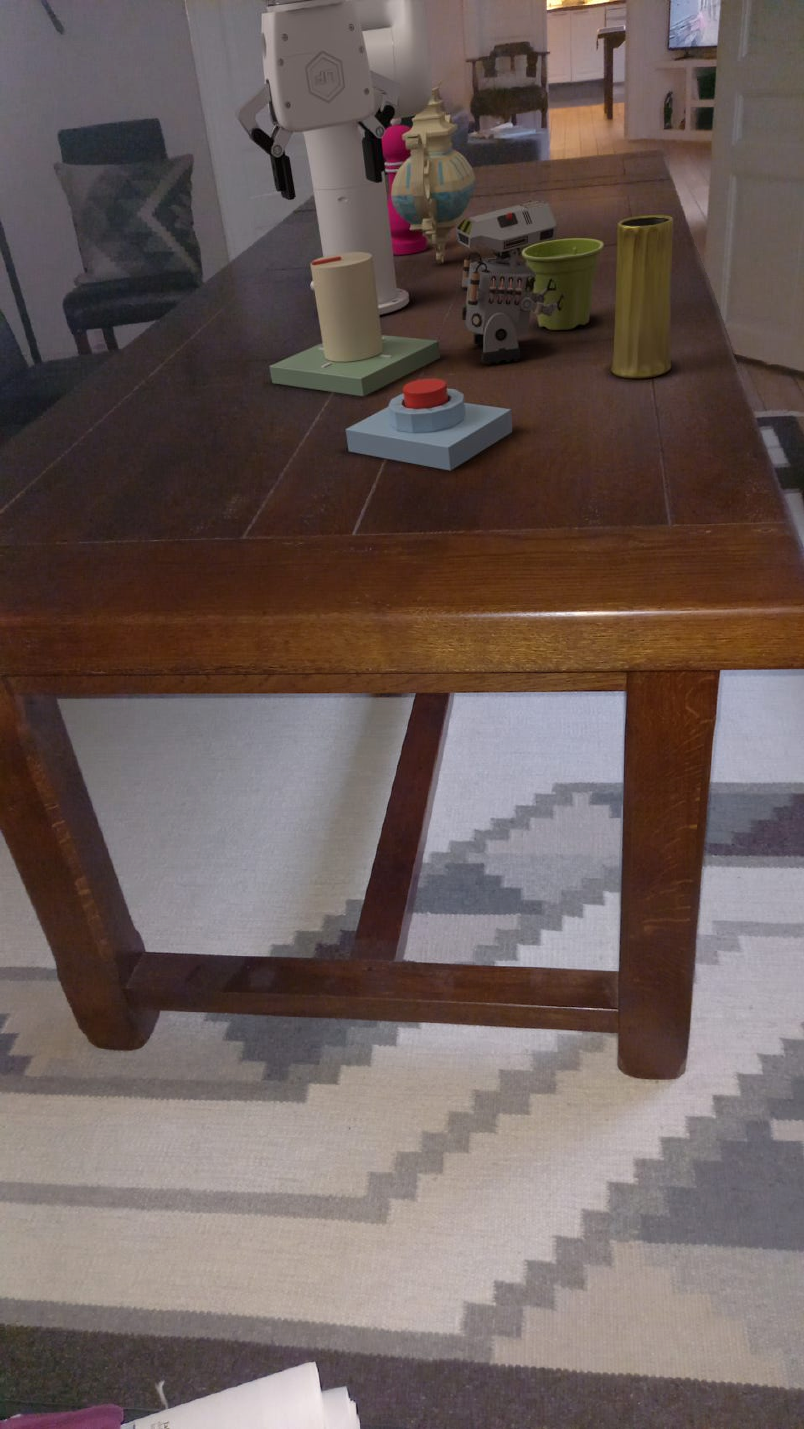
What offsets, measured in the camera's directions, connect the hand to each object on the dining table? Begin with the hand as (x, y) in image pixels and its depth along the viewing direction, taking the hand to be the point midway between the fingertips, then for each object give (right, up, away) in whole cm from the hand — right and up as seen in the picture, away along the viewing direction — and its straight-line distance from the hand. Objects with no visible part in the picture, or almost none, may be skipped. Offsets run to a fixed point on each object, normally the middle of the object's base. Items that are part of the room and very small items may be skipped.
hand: (332, 189), depth 103 cm
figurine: (+20, -13, +10) cm, 26 cm away
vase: (+33, -19, -1) cm, 38 cm away
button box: (+10, -30, -11) cm, 33 cm away
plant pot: (+27, -8, +17) cm, 33 cm away
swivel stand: (+2, -15, +11) cm, 19 cm away
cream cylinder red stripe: (+2, -14, +9) cm, 17 cm away
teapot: (+14, +16, +52) cm, 56 cm away
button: (+10, -27, -13) cm, 31 cm away
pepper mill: (+9, +23, +63) cm, 67 cm away
